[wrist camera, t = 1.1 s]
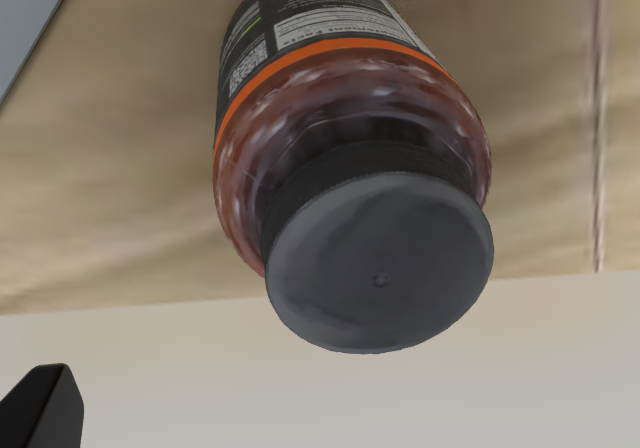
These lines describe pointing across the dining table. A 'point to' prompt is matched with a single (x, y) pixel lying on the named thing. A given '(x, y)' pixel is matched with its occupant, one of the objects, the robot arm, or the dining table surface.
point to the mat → (20, 35)
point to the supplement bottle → (350, 173)
